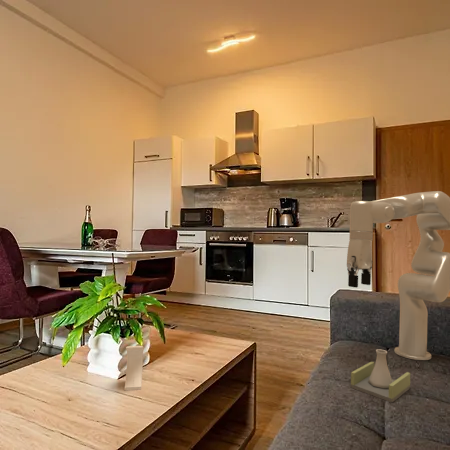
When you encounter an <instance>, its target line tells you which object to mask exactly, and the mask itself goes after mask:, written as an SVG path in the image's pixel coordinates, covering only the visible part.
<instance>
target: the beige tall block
mask: <svg viewBox="0 0 450 450" xmlns="http://www.w3.org/2000/svg"><path fill="white" fill-rule="evenodd" d="M125 351H126V369H125V370H126V372H125V373H126V374H125V381H124V382H125V384H124V391H137V390H138V391H141V390H142V384H143V367H144V366H143V364H144V363H143V362H144V346H143V345H136V346H135V345H134V346H133V345H131V346H129V345H128V346H126V348H125Z"/></svg>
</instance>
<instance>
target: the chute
mask: <svg viewBox="0 0 450 450" xmlns="http://www.w3.org/2000/svg"><path fill="white" fill-rule="evenodd" d="M374 366H375V361H370V362H367V363H366V364H364V365H362V366H361V367H358V368H357V369H355V370H353V371H351V372H350V388H351V389H353V390H355V391H356V390H357V391H360V392H362V393H364V394H368V395H371V396H374V397H376V398H379V399H381V400H384V401H386V402H389V403H393V402H395V401H396V400H397V399H398V398H400V397H401V396H403V395H404V394H405V393H406V392H408V391H409V390H410V389H411V372H409V371H406V372H405V373H404V374H402V375H401V376H399V377H397V379H393V378H392V381H393V382H392V383H391V384H390V385H389V388H380V387H375V386H373V385H371V384H370V383H369V382H368V381H369V378H370V376H371V373H372V371H373V369H374Z"/></svg>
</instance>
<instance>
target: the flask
mask: <svg viewBox="0 0 450 450" xmlns="http://www.w3.org/2000/svg"><path fill="white" fill-rule="evenodd" d="M375 353H376V358H375V359H376V360H375V362H374V369H373V371H372V373H371V376H370V378H369V381H368V382H369V383H370V384H371V385H373V386H375V387H380V388H389V385H390V384H391V383H392V382H393V381H392V379H393V378H392V376H391V373H390V370H389V366H388V361H387V355H388V351H387V350H384V349H378V348H377V349H375Z"/></svg>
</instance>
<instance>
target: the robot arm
mask: <svg viewBox="0 0 450 450" xmlns="http://www.w3.org/2000/svg"><path fill="white" fill-rule="evenodd" d="M414 216H416V224H417V228H418V230H419V236H420V240H419V244H418V246H417V249H416V251H415V252H414V255H413V257H412V260H411V264H410V265H411V266H410V267H411V269H412V271H413V272H409V273H407V272H406V273H403V274H401V275H400V277H399V278H398V279H397V288H398V289H397V291H398V296H399V330H398V332H399V333H398V336H399V337H398V343H399V344H398V346H396V347H394V353H395V355H398V356H400V357H402V358H406V359H411V360H415V361H429V360H431V359H432V354H431V353H430V352H429V351H428V349H427V348H428V314H429V313H428V308H427V305H426V303H425V301H427V302H428V301H429V302H433V303H443V302H444V301H445V300H447V298H448V296H449V294H450V252H447V251H446V252H445V251H443V250H444V247H445V242H444V239H443V238H442V236H440V234H439V231H450V195H448V194H446V193H445V192H443V191H440V190H437V191H436V190H434V191H423V192H415V193H409V194H404V195H398V196H392V197H388V198H387V197H386V198H383V199H378V200H372V201H368V200H355V201H352V202H351V203H350V208H349V241H348V245H347V246H348V247H347V253H346V254H347V255H346V268H347V275H348V279H347V282H348V284H347V286H348V287H350V288H358V287H359V275H358V274H359V270H360V271H361V275H360V277H361V278H360V283H361V285H363V286H364V285H366V286H370V285H371V282H372V281H371V280H372V278H371V277H372V275H371V274H372V268H373V267H372V266H373V263H374V262H373V254H372V253H373V249H372V242H373V236H374V235H373V233H374V232H373V231H374V224H386V223H388V222H391V221H392V220H397V219H398V220H399V219H406V218H410V217H414ZM414 272H415V273H414Z"/></svg>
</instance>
